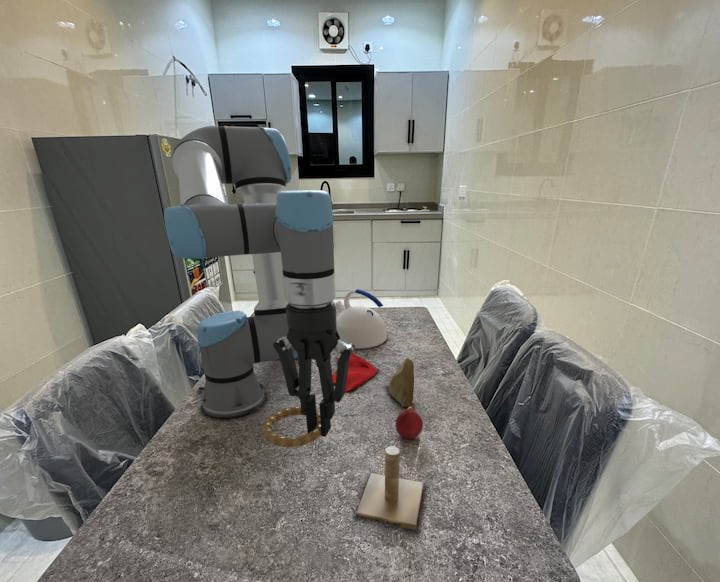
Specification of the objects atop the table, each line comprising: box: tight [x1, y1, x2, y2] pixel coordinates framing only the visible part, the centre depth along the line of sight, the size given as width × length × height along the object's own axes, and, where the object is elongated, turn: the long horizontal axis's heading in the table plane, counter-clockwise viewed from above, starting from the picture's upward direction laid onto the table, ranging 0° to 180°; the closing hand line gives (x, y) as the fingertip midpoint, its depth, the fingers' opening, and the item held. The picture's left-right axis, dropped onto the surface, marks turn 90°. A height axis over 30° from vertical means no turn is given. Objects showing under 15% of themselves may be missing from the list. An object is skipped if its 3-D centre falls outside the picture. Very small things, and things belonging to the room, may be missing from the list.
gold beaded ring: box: [261, 406, 322, 448], centre depth 68 cm, size 11×11×2 cm
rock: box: [387, 358, 415, 408], centre depth 99 cm, size 11×9×10 cm
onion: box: [394, 406, 424, 440], centre depth 83 cm, size 6×6×8 cm
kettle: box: [335, 288, 388, 350], centre depth 136 cm, size 20×21×18 cm
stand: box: [355, 445, 424, 531], centre depth 65 cm, size 10×10×11 cm
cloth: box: [332, 351, 378, 393], centre depth 115 cm, size 26×14×2 cm, turn 171°
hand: (319, 430), depth 67 cm, fingers closed on gold beaded ring, 2 cm apart
